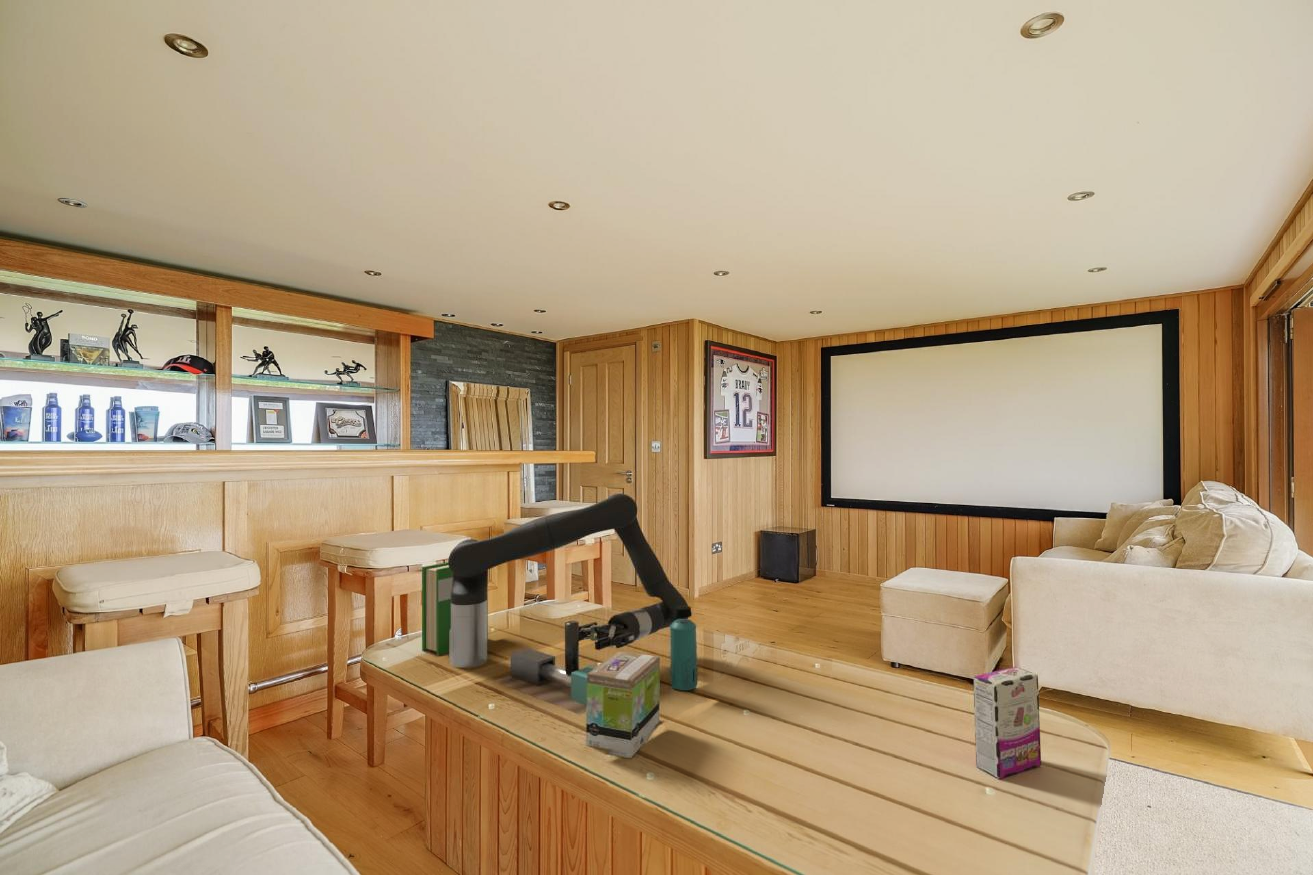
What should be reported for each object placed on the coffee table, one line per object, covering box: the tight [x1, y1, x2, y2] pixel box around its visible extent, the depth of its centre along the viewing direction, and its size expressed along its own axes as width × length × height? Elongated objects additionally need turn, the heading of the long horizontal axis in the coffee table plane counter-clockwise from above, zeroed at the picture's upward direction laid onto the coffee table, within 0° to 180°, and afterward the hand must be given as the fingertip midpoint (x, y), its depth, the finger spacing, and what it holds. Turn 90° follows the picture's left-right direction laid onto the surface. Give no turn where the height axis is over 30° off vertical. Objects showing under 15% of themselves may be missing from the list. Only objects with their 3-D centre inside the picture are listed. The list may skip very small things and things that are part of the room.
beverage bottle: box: [669, 605, 699, 691], centre depth 147 cm, size 6×7×20 cm
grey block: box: [509, 647, 556, 687], centre depth 153 cm, size 10×5×6 cm, turn 50°
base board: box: [494, 675, 587, 715], centre depth 147 cm, size 30×14×1 cm, turn 50°
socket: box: [571, 665, 597, 706], centre depth 140 cm, size 7×6×6 cm
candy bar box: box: [972, 666, 1042, 780], centre depth 111 cm, size 11×5×16 cm, turn 114°
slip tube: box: [540, 620, 580, 687], centre depth 145 cm, size 20×3×15 cm, turn 50°
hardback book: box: [421, 561, 489, 656], centre depth 183 cm, size 18×7×24 cm, turn 146°
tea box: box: [585, 650, 661, 759], centre depth 123 cm, size 15×10×15 cm, turn 160°
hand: (583, 642), depth 146 cm, fingers open, 8 cm apart
